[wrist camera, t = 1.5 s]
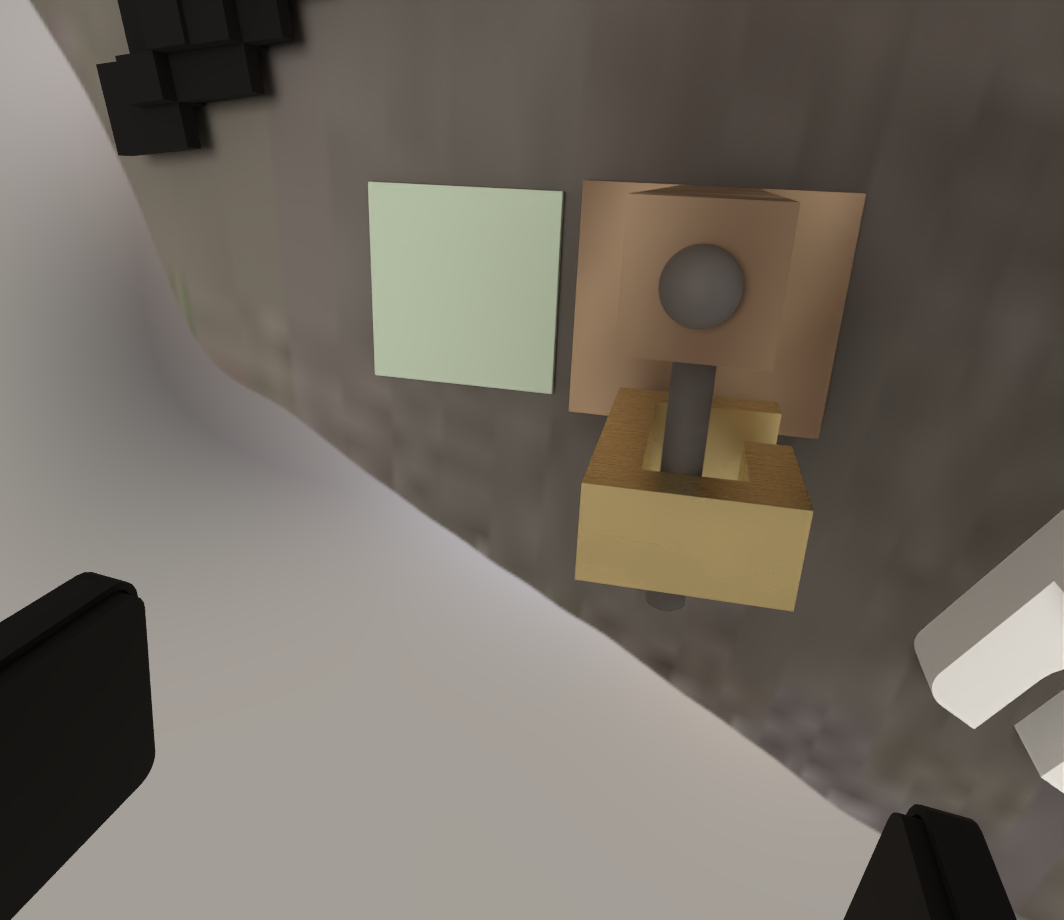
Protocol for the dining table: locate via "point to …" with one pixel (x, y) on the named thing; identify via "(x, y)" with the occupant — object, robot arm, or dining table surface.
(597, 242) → the stand
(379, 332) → the pad
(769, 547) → the c link
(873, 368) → the dining table surface
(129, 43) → the toy sword
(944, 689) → the white slotted holder
